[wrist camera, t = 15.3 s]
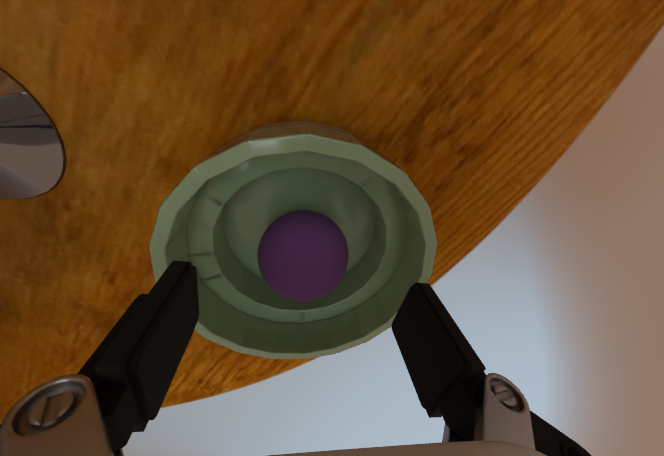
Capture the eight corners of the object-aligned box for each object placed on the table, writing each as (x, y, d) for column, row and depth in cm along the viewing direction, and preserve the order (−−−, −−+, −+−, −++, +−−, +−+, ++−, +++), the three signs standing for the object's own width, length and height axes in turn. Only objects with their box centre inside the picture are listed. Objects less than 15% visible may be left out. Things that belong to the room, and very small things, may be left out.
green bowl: (430, 148, 14) (488, 173, 10) (366, 303, 20) (384, 359, 16) (187, 91, 11) (120, 92, 7) (199, 292, 17) (168, 358, 13)
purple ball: (349, 203, 15) (370, 249, 10) (332, 265, 17) (343, 324, 13) (267, 189, 14) (252, 235, 9) (260, 258, 16) (246, 319, 12)
